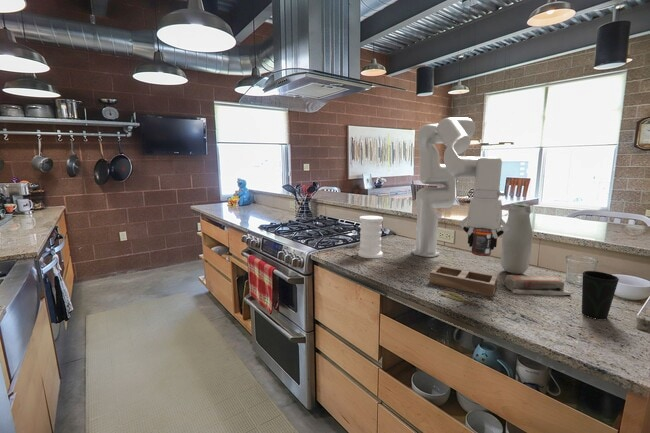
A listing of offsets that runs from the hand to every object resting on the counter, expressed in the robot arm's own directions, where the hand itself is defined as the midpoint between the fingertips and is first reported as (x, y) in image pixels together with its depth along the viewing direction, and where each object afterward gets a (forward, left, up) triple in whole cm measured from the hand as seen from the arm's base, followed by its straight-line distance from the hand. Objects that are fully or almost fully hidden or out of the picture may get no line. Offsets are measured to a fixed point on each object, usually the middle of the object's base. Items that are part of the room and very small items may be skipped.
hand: (481, 246), depth 108 cm
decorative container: (-15, -49, -15) cm, 53 cm away
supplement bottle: (0, 0, -3) cm, 3 cm away
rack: (0, -5, -15) cm, 16 cm away
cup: (+3, +31, -15) cm, 34 cm away
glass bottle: (-25, +9, -15) cm, 30 cm away
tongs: (+13, -3, -16) cm, 21 cm away
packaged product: (-10, +16, -15) cm, 25 cm away
